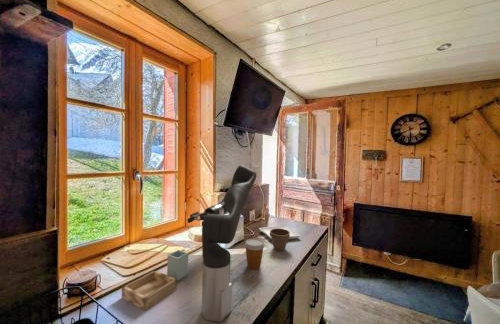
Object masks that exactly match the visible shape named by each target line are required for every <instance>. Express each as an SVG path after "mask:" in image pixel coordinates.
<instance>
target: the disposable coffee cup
mask: <svg viewBox="0 0 500 324" xmlns="http://www.w3.org/2000/svg"><path fill="white" fill-rule="evenodd" d="M264 243H265V242H264V240H262V239H259V238H250V239H247V240H245V243H244V247H245V255H246V265H247V266H246V267H247V268H248V269H249V270H251V271H255V270H256V271H257V270H259V269H260V268H261V265H262V258H263V251H264V247H265V244H264Z"/></svg>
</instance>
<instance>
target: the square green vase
mask: <svg viewBox="0 0 500 324" xmlns="http://www.w3.org/2000/svg"><path fill="white" fill-rule="evenodd" d="M166 261H167V264H166V265H167V269H166V270H167V271H166V275H168V276H170V277H173V278H175V279H177V283H178V282H180V281H182V280H183V279H186V278H187V277H188V276H189V272H188V271H189V269H188V268H189V252H186V251H182V250H180V249H177V250H175V251H173V252H170V253H169V254H167V260H166Z"/></svg>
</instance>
